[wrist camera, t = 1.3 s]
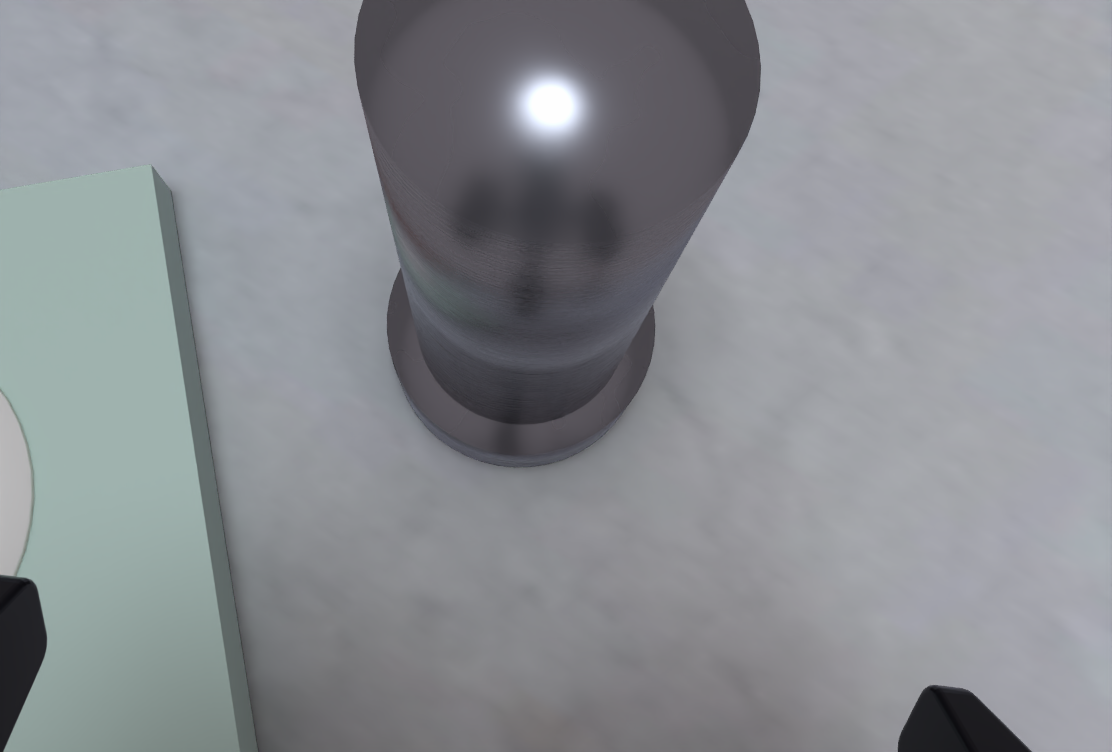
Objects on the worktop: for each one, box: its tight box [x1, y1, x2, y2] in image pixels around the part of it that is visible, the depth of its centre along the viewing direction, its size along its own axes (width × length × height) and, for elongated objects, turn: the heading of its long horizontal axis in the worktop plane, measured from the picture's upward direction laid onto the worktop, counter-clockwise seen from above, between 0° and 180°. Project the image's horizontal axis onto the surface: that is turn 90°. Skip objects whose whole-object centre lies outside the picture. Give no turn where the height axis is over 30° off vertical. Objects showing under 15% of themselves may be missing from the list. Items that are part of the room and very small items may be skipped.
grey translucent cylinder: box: [354, 0, 761, 467], centre depth 18 cm, size 6×6×13 cm
